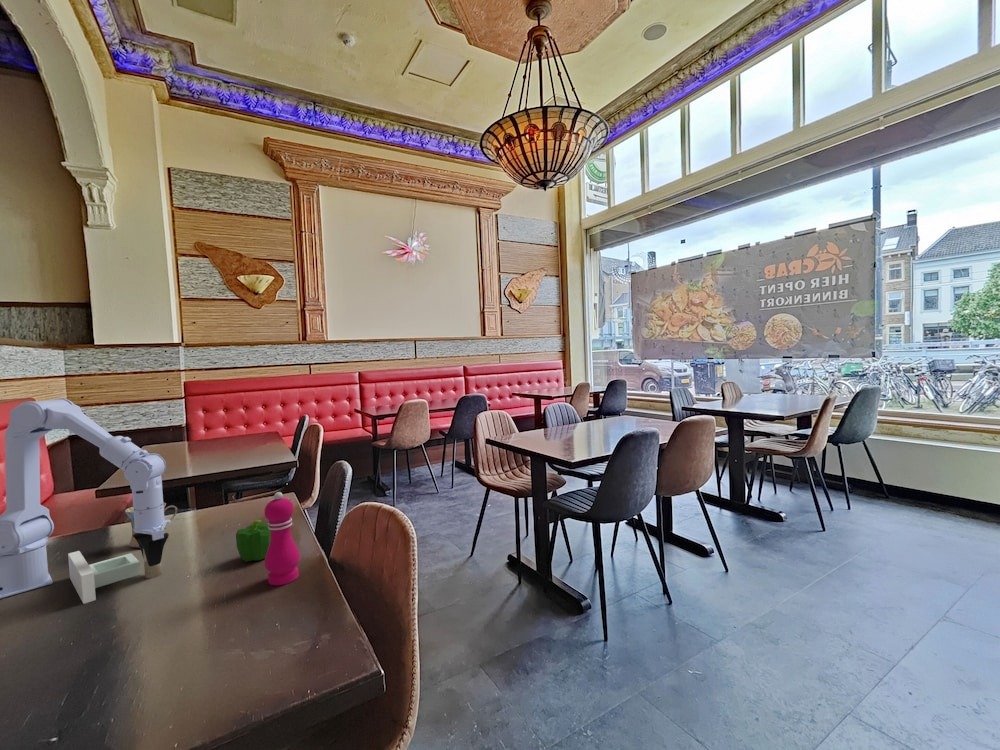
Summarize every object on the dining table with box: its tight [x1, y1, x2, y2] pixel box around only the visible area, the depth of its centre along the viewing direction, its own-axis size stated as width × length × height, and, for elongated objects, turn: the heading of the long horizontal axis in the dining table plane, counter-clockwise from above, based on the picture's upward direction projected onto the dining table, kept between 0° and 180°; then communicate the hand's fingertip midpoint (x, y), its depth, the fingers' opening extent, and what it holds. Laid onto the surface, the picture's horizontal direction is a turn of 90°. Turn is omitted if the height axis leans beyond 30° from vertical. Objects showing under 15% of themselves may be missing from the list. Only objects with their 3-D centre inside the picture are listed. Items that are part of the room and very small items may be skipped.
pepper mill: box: [264, 491, 301, 586], centre depth 104 cm, size 7×7×20 cm
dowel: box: [142, 549, 163, 579], centre depth 109 cm, size 3×3×8 cm
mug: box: [124, 501, 178, 549], centre depth 132 cm, size 12×9×11 cm
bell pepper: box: [235, 519, 271, 563], centre depth 117 cm, size 8×8×10 cm
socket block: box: [88, 552, 142, 589], centre depth 110 cm, size 9×9×3 cm
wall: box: [67, 550, 97, 605], centre depth 104 cm, size 2×20×6 cm, turn 49°
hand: (152, 562), depth 109 cm, fingers closed on dowel, 3 cm apart
